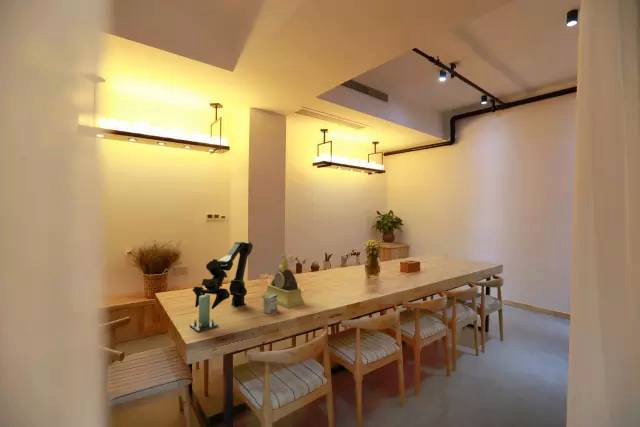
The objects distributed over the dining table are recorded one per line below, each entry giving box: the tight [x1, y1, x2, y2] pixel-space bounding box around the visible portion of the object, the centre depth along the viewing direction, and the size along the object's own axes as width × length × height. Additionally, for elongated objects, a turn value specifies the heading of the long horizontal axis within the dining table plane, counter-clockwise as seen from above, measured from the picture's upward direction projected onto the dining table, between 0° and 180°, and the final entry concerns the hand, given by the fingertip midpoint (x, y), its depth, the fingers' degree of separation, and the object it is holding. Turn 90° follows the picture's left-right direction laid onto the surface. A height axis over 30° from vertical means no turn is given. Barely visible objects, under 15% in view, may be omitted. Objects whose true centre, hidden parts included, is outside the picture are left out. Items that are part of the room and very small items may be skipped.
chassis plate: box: [189, 318, 219, 334], centre depth 139 cm, size 10×10×4 cm
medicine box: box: [263, 294, 278, 314], centre depth 162 cm, size 8×4×9 cm, turn 158°
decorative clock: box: [261, 253, 305, 309], centre depth 181 cm, size 28×13×30 cm, turn 44°
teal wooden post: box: [198, 294, 211, 327], centre depth 139 cm, size 5×5×14 cm
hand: (203, 307), depth 138 cm, fingers open, 9 cm apart
